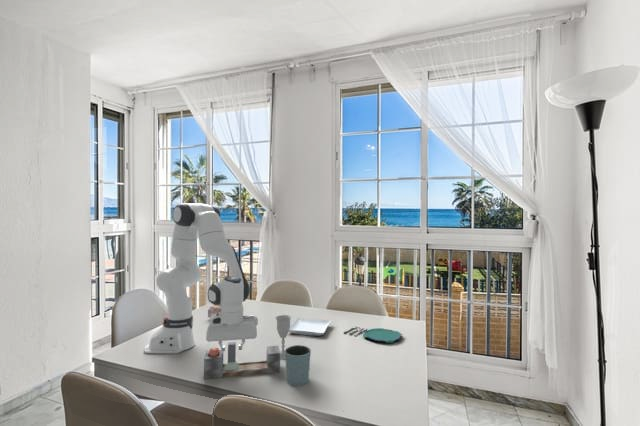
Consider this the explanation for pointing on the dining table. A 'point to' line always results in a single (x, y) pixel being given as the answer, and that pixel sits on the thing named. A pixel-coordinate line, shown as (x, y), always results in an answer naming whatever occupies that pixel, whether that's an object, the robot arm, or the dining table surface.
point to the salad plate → (309, 326)
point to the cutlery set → (379, 334)
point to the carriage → (231, 357)
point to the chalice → (283, 330)
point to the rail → (242, 365)
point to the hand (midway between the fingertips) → (231, 350)
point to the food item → (214, 310)
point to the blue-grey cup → (297, 364)
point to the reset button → (214, 352)
